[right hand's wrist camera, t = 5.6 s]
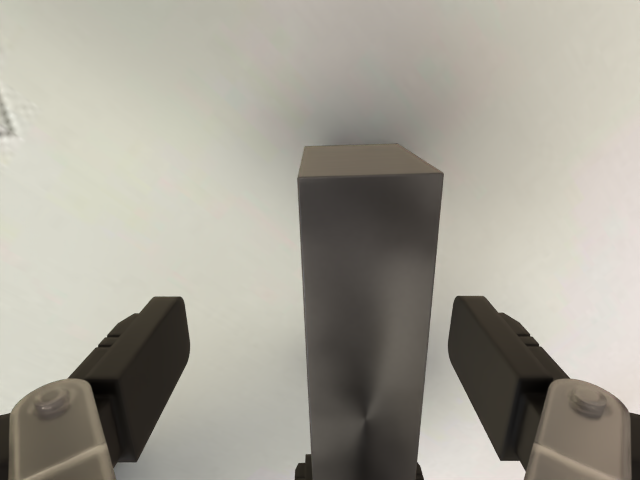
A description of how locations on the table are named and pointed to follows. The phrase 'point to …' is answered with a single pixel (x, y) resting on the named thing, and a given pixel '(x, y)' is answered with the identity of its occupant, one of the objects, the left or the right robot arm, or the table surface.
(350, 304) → the bar
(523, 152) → the table surface
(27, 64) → the table surface
